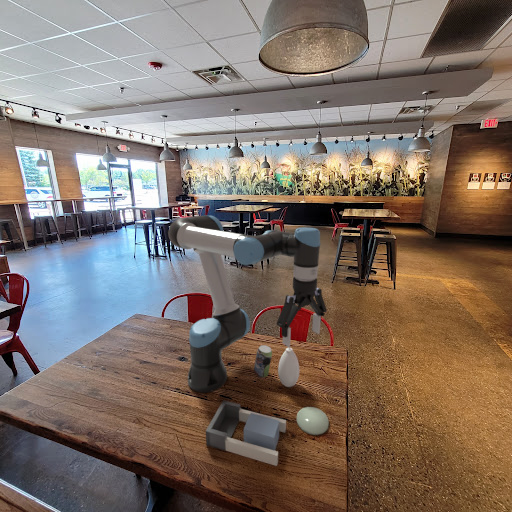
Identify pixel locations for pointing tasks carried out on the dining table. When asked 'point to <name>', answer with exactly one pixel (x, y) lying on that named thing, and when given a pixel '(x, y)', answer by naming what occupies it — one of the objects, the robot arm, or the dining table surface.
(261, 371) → the beverage can
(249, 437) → the painted block
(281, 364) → the sauce bottle
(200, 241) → the robot arm
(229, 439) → the channel
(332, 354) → the dining table surface
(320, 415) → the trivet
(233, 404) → the bin
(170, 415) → the dining table surface
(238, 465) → the dining table surface
